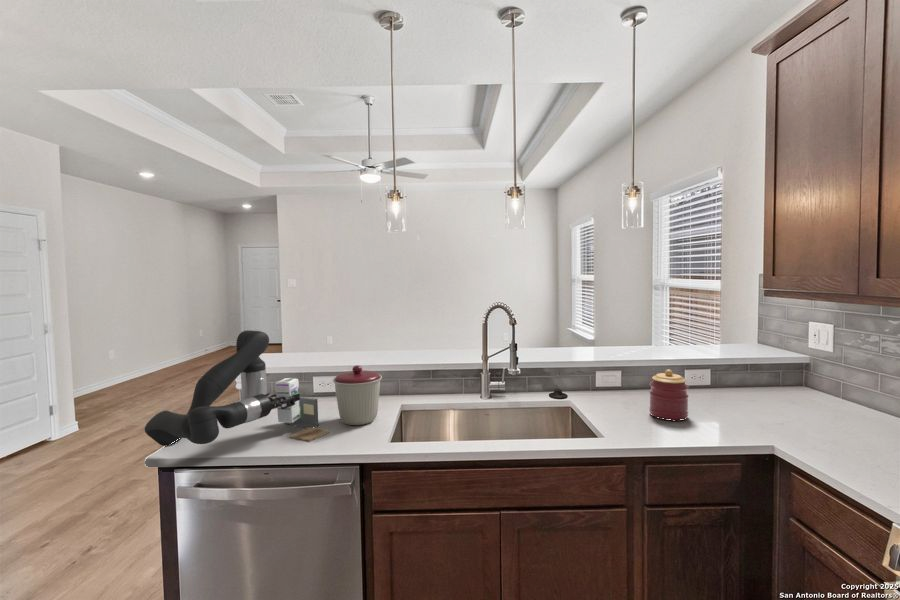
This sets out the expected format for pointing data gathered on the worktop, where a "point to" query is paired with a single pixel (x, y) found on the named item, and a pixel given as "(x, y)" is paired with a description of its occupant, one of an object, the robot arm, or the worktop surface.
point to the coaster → (309, 433)
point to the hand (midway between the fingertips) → (291, 395)
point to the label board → (307, 413)
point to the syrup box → (288, 389)
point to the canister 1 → (357, 395)
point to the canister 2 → (669, 396)
